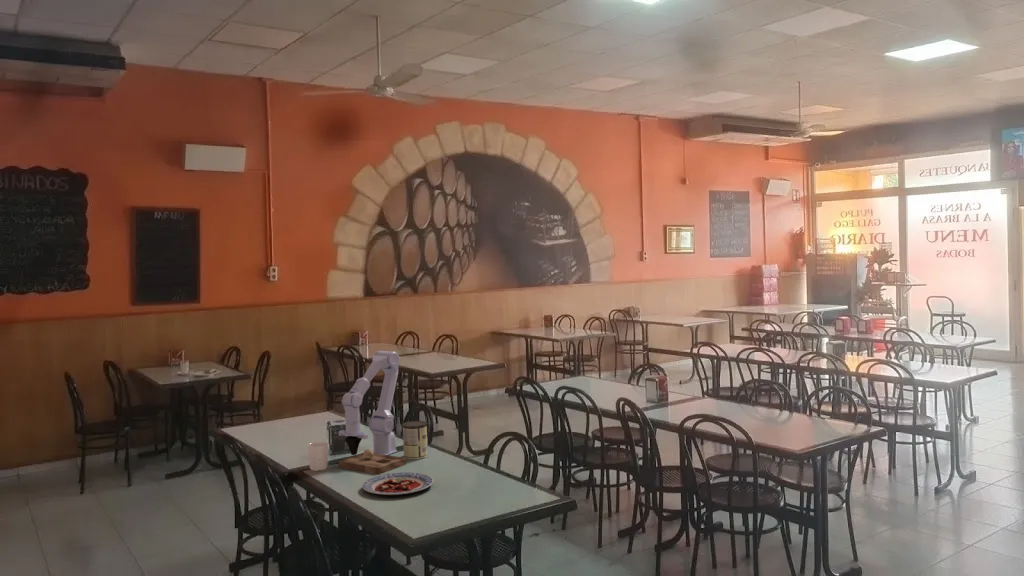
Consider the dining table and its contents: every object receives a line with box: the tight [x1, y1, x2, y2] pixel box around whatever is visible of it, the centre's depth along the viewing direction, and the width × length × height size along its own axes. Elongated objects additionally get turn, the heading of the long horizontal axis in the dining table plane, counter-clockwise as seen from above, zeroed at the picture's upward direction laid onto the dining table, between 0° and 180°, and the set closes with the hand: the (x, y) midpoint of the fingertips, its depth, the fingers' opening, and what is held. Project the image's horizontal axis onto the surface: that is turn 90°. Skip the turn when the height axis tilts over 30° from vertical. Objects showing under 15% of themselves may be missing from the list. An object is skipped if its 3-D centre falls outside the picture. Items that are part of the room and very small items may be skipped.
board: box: [338, 452, 407, 475], centre depth 308 cm, size 16×22×2 cm
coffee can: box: [402, 420, 429, 461], centre depth 320 cm, size 10×10×14 cm
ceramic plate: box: [362, 471, 435, 496], centre depth 277 cm, size 26×26×3 cm
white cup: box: [307, 441, 329, 472], centre depth 305 cm, size 8×8×10 cm
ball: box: [362, 448, 374, 459], centre depth 308 cm, size 4×4×4 cm
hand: (354, 454), depth 313 cm, fingers closed
